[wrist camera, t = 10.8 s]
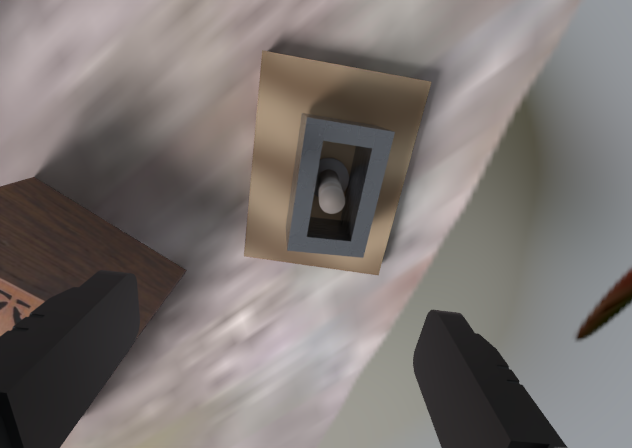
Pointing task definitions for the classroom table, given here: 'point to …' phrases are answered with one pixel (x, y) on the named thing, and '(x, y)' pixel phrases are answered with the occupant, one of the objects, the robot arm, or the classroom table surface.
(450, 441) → the robot arm
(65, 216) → the tissue box cover
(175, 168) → the classroom table surface
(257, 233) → the keeper board
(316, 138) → the grey storage bin
